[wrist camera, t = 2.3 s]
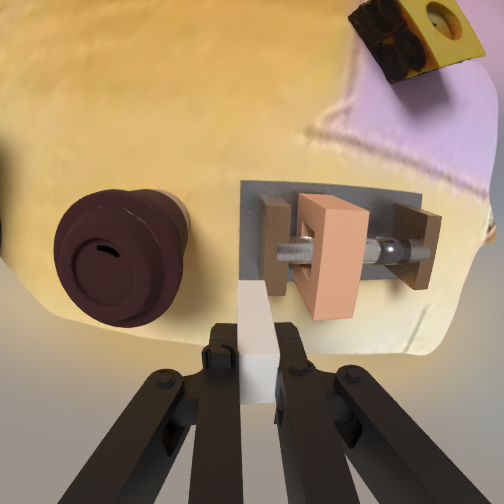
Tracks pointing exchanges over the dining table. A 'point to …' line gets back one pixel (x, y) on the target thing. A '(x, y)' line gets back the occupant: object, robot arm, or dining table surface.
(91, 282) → the coffee cup
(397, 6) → the candle
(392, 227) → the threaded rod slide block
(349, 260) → the collar
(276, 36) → the dining table surface
